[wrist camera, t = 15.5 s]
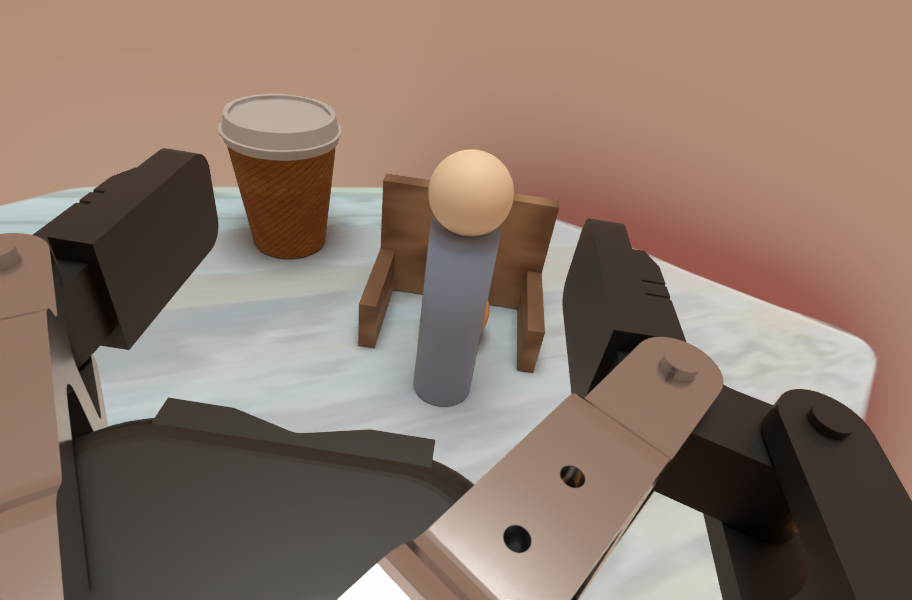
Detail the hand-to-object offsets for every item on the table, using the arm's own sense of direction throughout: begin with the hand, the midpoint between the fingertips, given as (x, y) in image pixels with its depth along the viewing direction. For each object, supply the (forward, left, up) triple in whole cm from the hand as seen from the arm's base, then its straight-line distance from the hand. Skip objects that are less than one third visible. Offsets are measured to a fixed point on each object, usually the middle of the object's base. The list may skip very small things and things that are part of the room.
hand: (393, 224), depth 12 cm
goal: (+1, +23, -22) cm, 32 cm away
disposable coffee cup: (-15, +32, -22) cm, 41 cm away
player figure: (+2, +17, -22) cm, 28 cm away
